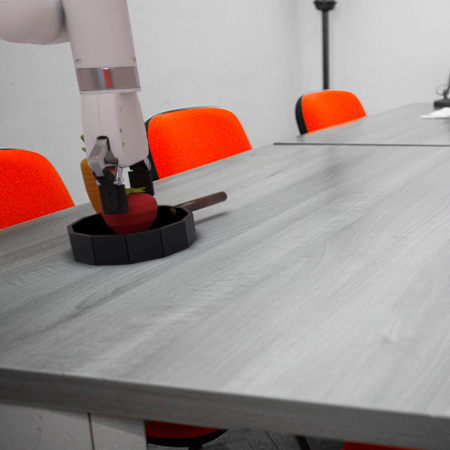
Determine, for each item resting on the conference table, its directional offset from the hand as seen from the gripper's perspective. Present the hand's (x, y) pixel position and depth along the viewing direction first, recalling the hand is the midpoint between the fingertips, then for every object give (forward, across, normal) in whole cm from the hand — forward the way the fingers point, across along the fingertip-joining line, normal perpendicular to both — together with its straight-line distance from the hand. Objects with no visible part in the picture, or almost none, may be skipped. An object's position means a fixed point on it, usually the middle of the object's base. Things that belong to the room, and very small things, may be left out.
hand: (131, 204), depth 82 cm
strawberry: (+6, 0, 0) cm, 6 cm away
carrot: (+6, -12, -9) cm, 16 cm away
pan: (+6, -5, +2) cm, 8 cm away
